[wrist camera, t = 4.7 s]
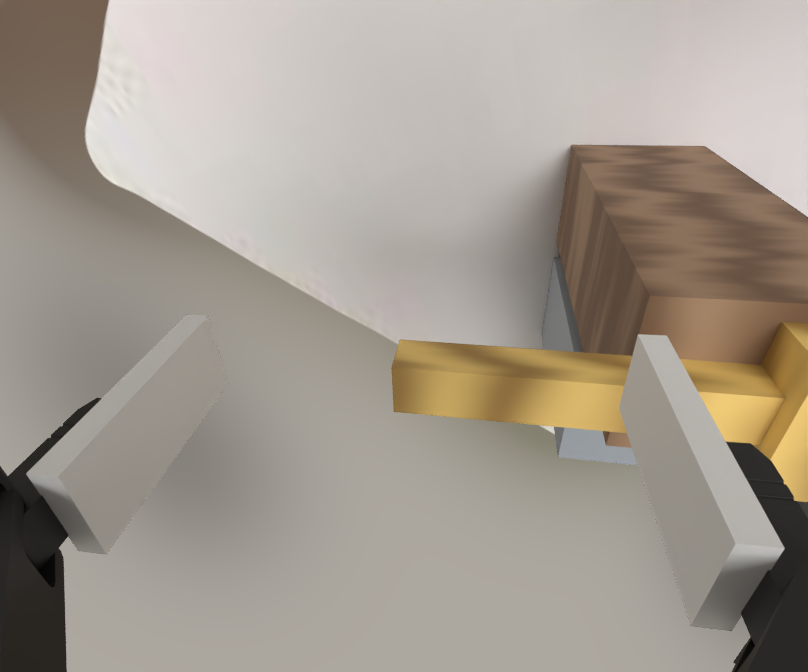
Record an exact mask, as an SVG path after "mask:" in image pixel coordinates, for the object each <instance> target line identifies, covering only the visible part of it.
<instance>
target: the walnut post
mask: <svg viewBox="0 0 808 672" xmlns="http://www.w3.org/2000/svg"><path fill="white" fill-rule="evenodd" d="M557 246H558V250H559V254H560V258H561V262H562V266H563V270H564V274H565V279H566V283H567V287H568V291H569V295H570V299H571V303H572V307H573V312H574V316H575V320H576V324H577V328H578V332H579V336H580V340H581V345H582V349H583V352H584V353H598V354H612V355H627V356H632V355H633V352H634V348H635V344H636V340H637V337H638V334H643V335H666V336H667V337H668V339H669V340H670V342H671V344H672V346H673V348H674V349H675V351H676V353H677V355H678V357H679V358H680V359H684V360H698V361H713V362H727V363H741V364H756V365H761V364H762V362H763V360H764V358H765V356H766V354H767V352H768V350H769V348H770V346H771V344H772V342H773V339H774V337H775V335H776V333H777V331H778V329H779V327H780V325H781V323H782V322H793V323H808V217H807V216H805V215H804V214H803V213H801V212H800V211H798V210H797V209H795V208H794V207H792V206H791V205H789V204H788V203H787V202H785V201H784V200H782V199H781V198H779V197H778V196H776V195H775V194H773V193H772V192H771V191H769V190H768V189H766V188H765V187H763V186H762V185H760V184H759V183H758V182H756V181H755V180H753V179H752V178H750V177H749V176H747V175H746V174H744V173H743V172H742V171H740V170H739V169H737V168H736V167H734V166H733V165H731V164H730V163H728V162H727V161H726V160H724V159H723V158H721V157H720V156H718V155H717V154H715V153H714V152H713V151H711V150H710V149H708V148H707V147H705V146H629V145H572V147H571V153H570V160H569V166H568V172H567V178H566V185H565V191H564V197H563V204H562V210H561V216H560V222H559V229H558V235H557ZM603 435H604V439H605V444H606V446H616V447H626V448H632V447H631V444H630V441H629V438H628V435H627V433H619V432H608V431H603Z"/></svg>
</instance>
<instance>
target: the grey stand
mask: <svg viewBox="0 0 808 672" xmlns="http://www.w3.org/2000/svg"><path fill="white" fill-rule="evenodd" d="M542 338H543V346H544V350H555V351H570V352H583V349H582V345H581V340H580V336H579V332H578V328H577V324H576V320H575V316H574V312H573V307H572V303H571V299H570V295H569V291H568V287H567V283H566V279H565V274H564V270H563V266H562V262H561V259H558V258H554V260H553V266H552V273H551V279H550V285H549V291H548V298H547V304H546V310H545V317H544V323H543V329H542ZM554 430H555V438H556V446H557V453H558V457H561V458H571V459H581V460H591V461H601V462H612V463H620V464H621V463H622V464H631V465H637V462H636V459H635V456H634V453H633V450H632V448H626V447H616V446H606V444H605V439H604V435H603V431H597V430H587V429H576V428H565V427H554Z"/></svg>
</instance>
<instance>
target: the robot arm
mask: <svg viewBox="0 0 808 672" xmlns="http://www.w3.org/2000/svg"><path fill="white" fill-rule="evenodd" d="M227 384H228V379H227V376H226V373H225V369H224V366H223V363H222V359H221V356H220V353H219V349H218V346H217V343H216V340H215V336H214V333H213V329H212V326H211V323H210V319H209V316H199V315H186V316H185V317H184V318H183V319H182V320H181V321H180V322H179V323H178V324H177V325H176V326H175V327H174V328H173V329H172V330H171V331H170V332H169V333H168V334H167V335H166V336H165V337H164V338H163V339H162V340H161V341H160V342H159V343H158V344H157V345H156V346H155V347H154V348H153V349H152V350H151V351H150V352H149V353H147V355H145V357H143V358H142V360H141V361H139V362H138V363H137V364H136V365H135V366H134V367H133V368H132V369H131V370H130V371H129V372H128V373H127V374H126V375H125V376H124V377H123V378H122V379H121V380H120V381H119V382H118V383H117V384H116V385H115V386H114V387H113V388H112V389H111V390H110V391H109V392H108V393H107V394H106V395H105V396H104V397H103V398H96V399H95V400H93V401H91V402H90V403H88V404H86V405H85V406H83V407H81V408H80V409H78V410H77V411H76V412H75V413H74V414H73V415H72V416H71V417H69V418H68V419H67V420H66V421H65V422H64V423H63V426H62V427H59V428H58V429H57V430H56V431H55V432H54V433H53V434H52V435H51V438H48V439H47V440H46V441H45V442H43V443H42V444H41V445H40V446H39V447H38V448H37V449H36V450H35V451H34V452H33V453H32V454H31V455H30V456H29V457H28V458H27V459H26V460H25V461H23V462H22V464H21V465H19V466H18V467H17V468H16V469H15V470H14V471H13V472H12V473H11V474H10V475H9V476H7V475H6V473H5V472H4V471H3V470H2V468H1V467H0V672H67V670H66V636H65V635H66V633H65V601H64V600H65V599H64V598H65V597H64V561H63V556H62V553H61V551H60V549H59V547H60V545H61V544H62V543H63V542H64V541H65V539H66V538H67V537H69V538H70V539H71V541H72V542H73V544H74V545H75V547H76V548H77V550H78V551H83V552H90V553H98V554H107V553H108V552H109V551H110V549H111V548H112V546H113V545H114V543H115V542H116V541H117V539H118V538H119V536H120V535H121V534H122V532H123V531H124V529H125V528H126V527H127V525H128V524H129V522H130V521H131V520H132V518H133V517H134V515H135V514H136V513H137V511H138V510H139V508H140V507H141V506H142V504H143V503H144V501H145V500H146V498H147V497H148V496H149V494H150V493H151V491H152V490H153V488H154V487H155V486H156V484H157V483H158V482H159V480H160V479H161V477H162V476H163V475H164V473H165V472H166V470H167V469H168V468H169V466H170V465H171V463H172V462H173V460H174V459H175V457H176V456H177V455H178V453H179V452H180V451H181V449H182V448H183V446H184V445H185V444H186V442H187V441H188V439H189V438H190V436H191V435H192V434H193V432H194V431H195V430H196V428H197V426H198V425H199V424H200V422H201V421H202V420H203V418H204V417H205V415H206V414H207V412H208V411H209V410H210V408H211V407H212V406H213V404H214V403H215V401H216V400H217V399H218V397H219V396H220V394H221V393H222V392H223V390H224V389H225V387H226V386H227ZM619 410H620V413H621V416H622V419H623V422H624V425H625V428H626V431H627V435H628V438H629V441H630V444H631V447H632V450H633V453H634V456H635V459H636V462H637V465H638V468H639V471H640V474H641V477H642V480H643V483H644V486H645V489H646V492H647V495H648V498H649V501H650V504H651V507H652V510H653V513H654V516H655V520H656V523H657V526H658V528H659V532H660V535H661V538H662V541H663V544H664V547H665V550H666V553H667V556H668V559H669V562H670V565H671V568H672V571H673V574H674V577H675V580H676V583H677V586H678V589H679V592H680V595H681V598H682V601H683V605H684V607H685V610H686V613H687V617H688V620H689V623H690V626H695V627H702V628H710V629H719V630H727V631H732V630H733V628H734V626H735V625H736V623H737V622H738V620H739V619H740V617H741V616H742V617H743V619H744V622H745V624H746V626H747V629H748V631H749V633H750V636H751V637H750V639H749V640H748V642H747V643H746V645H745V646H744V647H743V649H742V650H741V652H740V653H739V655H738V656H737V657H736V659H735V660H734V663H735V666H734V668H733V671H732V672H808V518H807V516H806V515H805V513H804V512H803V510H802V509H801V507H800V505H799V504H798V502H797V501H794V496H793V494H792V493H791V491H790V490H789V488H788V486H787V485H786V484H784V480H783V478H782V477H781V475H780V474H779V472H778V471H777V469H776V467H775V466H774V464H773V463H772V461H771V460H770V459H769V458H767V457H766V456H765V455H764V454H763V453H762V452H760V451H759V450H758V449H757V448H756V447H755V446H753V445H752V444H751V443H740V442H726V441H725V440H724V438H723V436H722V434H721V432H720V431H719V429H718V427H717V425H716V423H715V422H714V420H713V418H712V416H711V414H710V413H709V411H708V409H707V407H706V405H705V404H704V402H703V400H702V398H701V396H700V395H699V393H698V391H697V389H696V387H695V386H694V384H693V382H692V380H691V378H690V377H689V375H688V373H687V371H686V369H685V367H684V366H683V364H682V362H681V360H680V358H679V357H678V355H677V353H676V351H675V349H674V348H673V346H672V344H671V342H670V340H669V339H668V337H667V336H666V335H643V334H638V337H637V340H636V344H635V348H634V352H633V355H632V359H631V363H630V367H629V371H628V374H627V378H626V382H625V386H624V389H623V393H622V397H621V401H620V405H619Z"/></svg>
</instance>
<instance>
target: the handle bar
mask: <svg viewBox="0 0 808 672" xmlns="http://www.w3.org/2000/svg"><path fill="white" fill-rule="evenodd" d="M631 359H632V356H627V355H612V354H598V353H584V352H570V351H555V350H541V349H527V348H512V347H498V346H484V345H469V344H455V343H441V342H426V341H412V340H400V341H399V344H398V348H397V351H396V354H395V358H394V361H393V365H392V385H393V404H394V412H403V413H413V414H424V415H435V416H445V417H446V416H447V417H456V418H468V419H478V420H489V421H500V422H512V423H522V424H532V425H543V426H554V427H565V428H576V429H587V430H597V431H608V432H619V433H627V431H626V428H625V425H624V422H623V419H622V416H621V413H620V410H619V405H620V401H621V397H622V393H623V389H624V386H625V382H626V378H627V374H628V371H629V367H630V363H631ZM680 360H681V362H682V364H683V366H684V367H685V369H686V371H687V373H688V375H689V377H690V378H691V380H692V382H693V384H694V386H695V387H696V389H697V391H698V393H699V395H700V396H701V398H702V400H703V402H704V404H705V405H706V407H707V409H708V411H709V413H710V414H711V416H712V418H713V420H714V422H715V423H716V425H717V427H718V429H719V431H720V432H721V434H722V436H723V438H724V440H725V441H726V442H740V443H751V444H752V445H753V446H755V447H756V448H757V449H758V450H759V451H760V452H762V453H763V454H764V455H765V456H766V457H767V458H769V459H770V460H771V461H772V463H773V464H774V466H775V467H776V469H777V471H778V472H779V474H780V475H781V477H782V478H783V480H784V484H786V485H787V486H788V488H789V490H790V491H791V493H792V494H793V496H794V501H803V502H808V323H793V322H782V323H781V325H780V327H779V329H778V331H777V333H776V335H775V337H774V339H773V342H772V344H771V346H770V348H769V350H768V352H767V354H766V356H765V358H764V360H763V362H762V364H761V365H756V364H741V363H727V362H713V361H698V360H684V359H680Z"/></svg>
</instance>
